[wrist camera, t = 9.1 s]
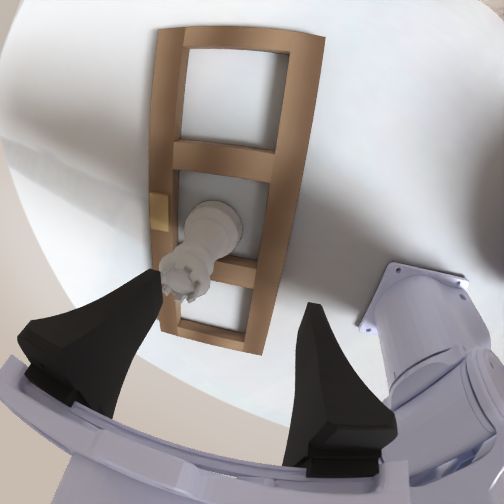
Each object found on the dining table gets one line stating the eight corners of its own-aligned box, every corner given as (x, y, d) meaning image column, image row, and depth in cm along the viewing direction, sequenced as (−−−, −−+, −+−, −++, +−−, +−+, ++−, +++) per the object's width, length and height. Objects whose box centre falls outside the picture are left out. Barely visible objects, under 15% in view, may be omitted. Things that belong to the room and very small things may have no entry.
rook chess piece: (253, 240, 22) (230, 308, 15) (205, 255, 23) (168, 320, 17) (229, 189, 20) (191, 240, 13) (180, 209, 22) (129, 263, 15)
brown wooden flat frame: (323, 41, 13) (325, 36, 12) (263, 346, 28) (261, 357, 27) (166, 32, 14) (157, 28, 13) (165, 323, 29) (159, 333, 28)
